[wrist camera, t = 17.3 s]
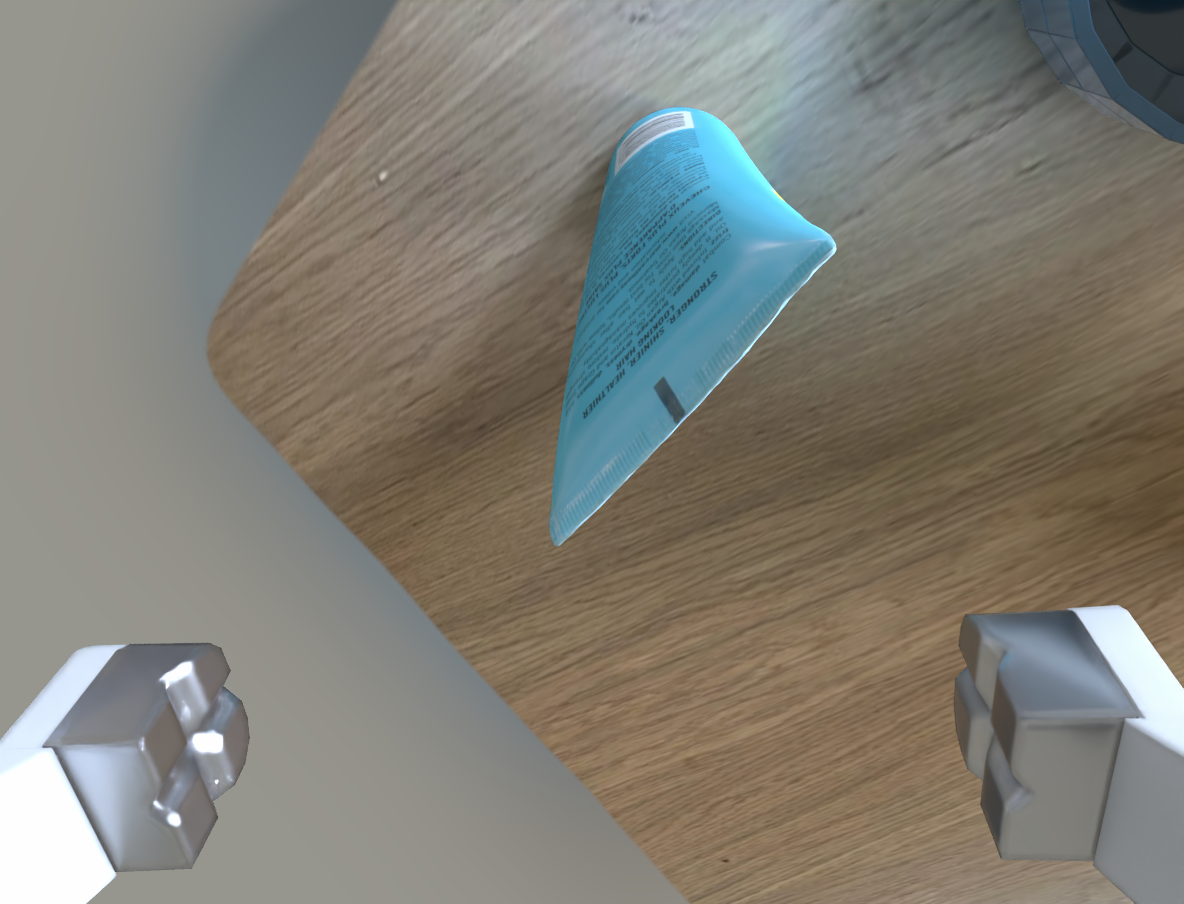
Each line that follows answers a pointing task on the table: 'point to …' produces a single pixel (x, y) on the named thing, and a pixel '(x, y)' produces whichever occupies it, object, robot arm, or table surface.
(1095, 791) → the robot arm
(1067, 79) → the bowl
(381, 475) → the table surface
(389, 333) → the table surface
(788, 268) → the tube
